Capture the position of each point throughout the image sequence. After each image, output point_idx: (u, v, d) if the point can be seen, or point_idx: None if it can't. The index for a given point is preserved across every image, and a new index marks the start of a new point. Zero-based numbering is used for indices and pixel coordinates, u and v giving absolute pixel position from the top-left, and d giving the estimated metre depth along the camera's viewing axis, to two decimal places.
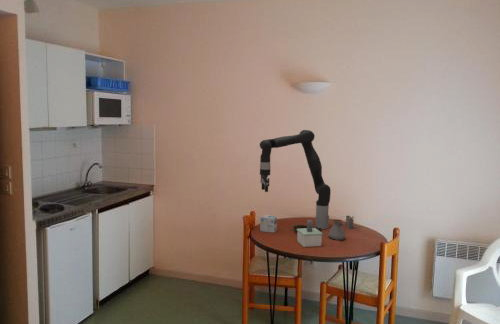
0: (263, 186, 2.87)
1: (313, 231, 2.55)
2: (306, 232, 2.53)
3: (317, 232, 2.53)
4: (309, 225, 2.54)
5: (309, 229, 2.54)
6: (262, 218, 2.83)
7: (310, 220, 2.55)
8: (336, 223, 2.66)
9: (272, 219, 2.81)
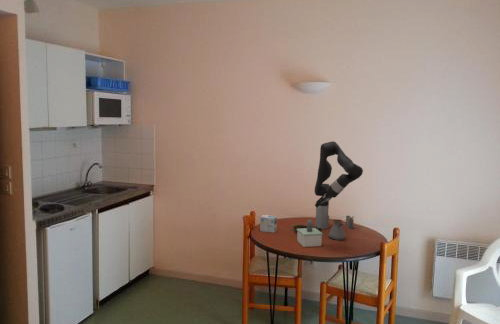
0: None
1: (313, 231, 2.55)
2: (306, 232, 2.53)
3: (317, 232, 2.53)
4: (309, 225, 2.54)
5: (309, 229, 2.54)
6: (262, 218, 2.83)
7: (310, 220, 2.55)
8: (336, 223, 2.66)
9: (272, 219, 2.81)
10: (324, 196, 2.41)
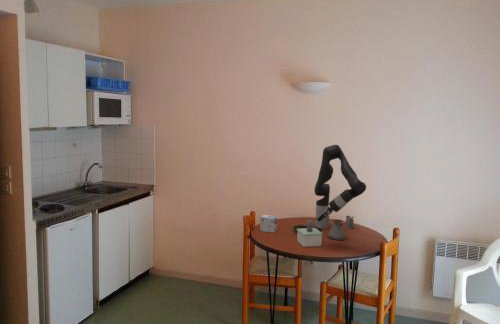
0: None
1: (313, 231, 2.55)
2: (306, 232, 2.53)
3: (317, 232, 2.53)
4: (309, 225, 2.54)
5: (309, 229, 2.54)
6: (262, 218, 2.83)
7: (310, 220, 2.55)
8: (336, 223, 2.66)
9: (272, 219, 2.81)
10: (328, 211, 2.43)
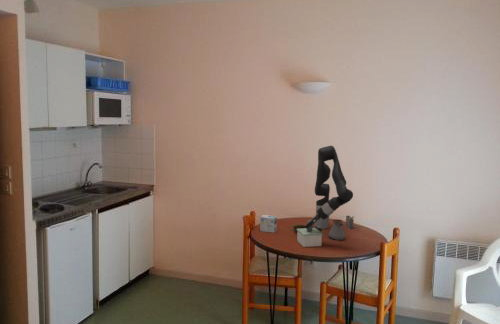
0: None
1: (313, 231, 2.55)
2: (306, 232, 2.53)
3: (317, 232, 2.53)
4: None
5: (309, 229, 2.54)
6: (262, 218, 2.83)
7: (310, 220, 2.55)
8: (336, 223, 2.66)
9: (272, 219, 2.81)
10: (314, 220, 2.47)
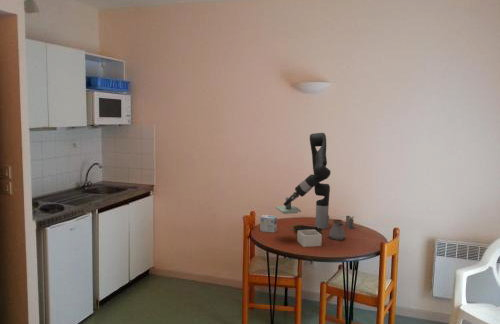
0: None
1: (292, 208, 2.61)
2: (285, 209, 2.58)
3: (295, 209, 2.59)
4: None
5: (288, 206, 2.60)
6: (262, 218, 2.83)
7: None
8: (336, 223, 2.66)
9: (272, 219, 2.81)
10: (292, 197, 2.53)
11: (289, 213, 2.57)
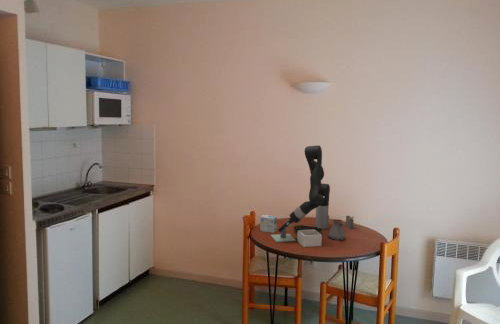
0: None
1: (286, 237, 2.65)
2: (279, 238, 2.62)
3: (290, 238, 2.63)
4: (282, 231, 2.63)
5: (282, 235, 2.64)
6: (262, 218, 2.83)
7: None
8: (336, 223, 2.66)
9: (272, 219, 2.81)
10: (288, 223, 2.56)
11: None
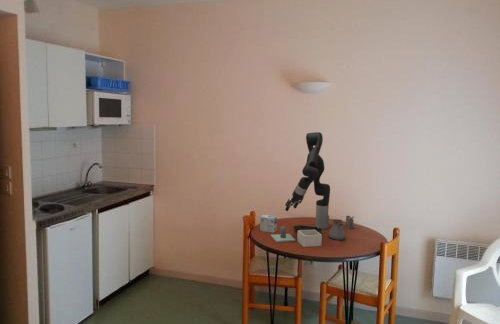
0: None
1: (286, 237, 2.65)
2: (279, 238, 2.62)
3: (290, 238, 2.63)
4: (282, 231, 2.63)
5: (282, 235, 2.64)
6: (262, 218, 2.83)
7: (283, 226, 2.65)
8: (336, 223, 2.66)
9: (272, 219, 2.81)
10: (289, 200, 2.61)
11: None
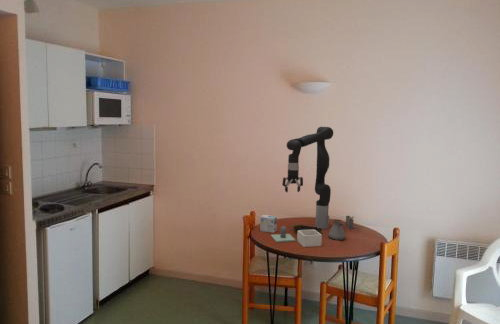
0: None
1: (286, 237, 2.65)
2: (279, 238, 2.62)
3: (290, 238, 2.63)
4: (282, 231, 2.63)
5: (282, 235, 2.64)
6: (262, 218, 2.83)
7: (283, 226, 2.65)
8: (336, 223, 2.66)
9: (272, 219, 2.81)
10: (283, 178, 2.73)
11: None
